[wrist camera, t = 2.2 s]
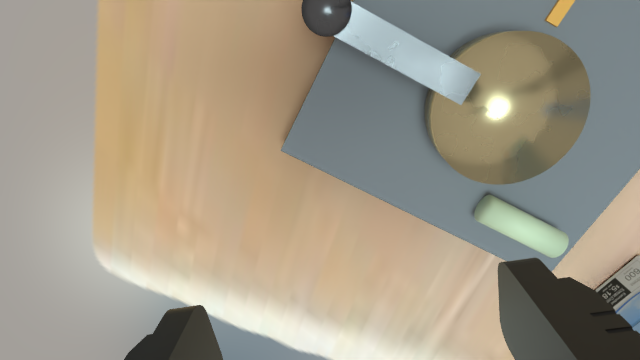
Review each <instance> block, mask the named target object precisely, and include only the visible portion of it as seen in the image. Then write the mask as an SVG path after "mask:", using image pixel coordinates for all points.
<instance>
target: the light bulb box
mask: <svg viewBox="0 0 640 360" xmlns="http://www.w3.org/2000/svg"><path fill="white" fill-rule="evenodd" d="M595 291H596V292H597V293H598V294H599V295H600V296H601V297H602V298H604V299H605V300H606V301H607V302H608V303H609V304H610V305H611V306H612V307H613V308H614V309H615V312H616V314H620V315H621V316H622V317H623V318H624V319H625V320H626V321H627V322H628V323H629V324H630V325H631V326H632V329H633V330H634V331H637V332H638V333H640V255H638V256H636V257H635V258H634V259H633V260H631V261H630V262H629V263H628V264H627V265H625V266H624V267H623V268H622V269H620V270H619V271H618V272H617V273H616V274H614V275H613V276H612V277H611V278H609V279H608V280H607V281H606V282H605V283H603V284H602V285H601V286H600V287H599V288H597V289H596V290H595Z"/></svg>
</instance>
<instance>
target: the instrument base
mask: <svg viewBox="0 0 640 360" xmlns="http://www.w3.org/2000/svg"><path fill="white" fill-rule="evenodd" d="M353 3H355V4H356V5H358V6H360V7H362V8H364V9H365V10H367V11H369V12H371V13H373V14H374V15H376V16H378V17H380V18H381V19H383V20H385V21H387V22H389V23H390V24H392V25H394V26H396V27H398V28H399V29H401V30H403V31H405V32H407V33H408V34H410V35H412V36H414V37H415V38H417V39H419V40H421V41H423V42H424V43H426V44H428V45H430V46H432V47H433V48H435V49H437V50H439V51H441V52H442V53H444V54H446V55H448V56H449V57H450V56H451V55H452V54H453V53H454V52H455V51H456V50H457V49H459V48H460V47H462V46H463V45H464V44H466V43H468V42H470V41H472V40H473V39H476V38H478V37H481V36H483V35H486V34H490V33H494V32H502V31H534V32H541V33H544V34H547V35H551V36H553V37H555V38H557V39H559V40H561V41H562V42H564V43H565V44H566V45H568V46H569V47H570V48H571V49H572V50H573V51H574V52H575V53H576V54H577V56H578V57H579V58H580V60H581V61H582V63H583V65H584V67H585V69H586V72H587V75H588V78H589V83H590V94H591V100H590V108H589V113H588V117H587V120H586V123H585V125H584V128H583V130H582V132H581V134H580V136H579V137H578V139H577V141H576V142H575V144H574V145H573V146H572V148H571V149H570V150H569V151H568V152H567V154H566V155H565V156H564V157H563V158H562V159H560V160H559V161H558V162H557V163H556V164H555V165H553V166H552V167H551V168H549V169H548V170H546V171H544V172H543V173H541V174H539V175H537V176H535V177H533V178H530V179H527V180H524V181H521V182H517V183H512V184H504V185H492V184H485V183H481V182H477V181H474V180H471V179H469V178H467V177H465V176H463V175H461V174H460V173H458V172H457V171H456V170H454V169H453V168H452V167H451V166H450V165H449V164H448V163H447V162H446V160H445V159H444V158H443V157H442V156H441V155H440V154H439V153H438V152H437V150H436V149H435V147H434V146H433V144H432V142H431V140H430V138H429V135H428V132H427V129H426V124H425V102H426V98H427V93H428V90H429V88H428V87H427V86H425V85H423V84H421V83H419V82H417V81H416V80H414V79H412V78H410V77H408V76H406V75H404V74H403V73H401V72H399V71H397V70H395V69H393V68H392V67H390V66H388V65H386V64H384V63H382V62H380V61H379V60H377V59H375V58H373V57H371V56H369V55H368V54H366V53H364V52H362V51H360V50H358V49H356V48H355V47H353V46H351V45H349V44H347V43H345V42H344V41H342V40H340V39H338V38H335V40H334V42H333V44H332V46H331V48H330V50H329V52H328V54H327V56H326V58H325V60H324V62H323V64H322V66H321V68H320V70H319V72H318V75H317V77H316V79H315V81H314V83H313V85H312V87H311V89H310V91H309V93H308V95H307V97H306V99H305V101H304V103H303V105H302V107H301V109H300V111H299V113H298V116H297V118H296V120H295V122H294V124H293V126H292V128H291V130H290V132H289V134H288V136H287V138H286V140H285V142H284V144H283V147H282V149H281V151H283V152H285V153H287V154H289V155H291V156H293V157H295V158H297V159H299V160H301V161H303V162H305V163H307V164H309V165H311V166H313V167H315V168H317V169H319V170H322V171H324V172H326V173H328V174H330V175H332V176H334V177H336V178H338V179H340V180H342V181H344V182H346V183H348V184H350V185H352V186H354V187H356V188H358V189H360V190H362V191H365V192H367V193H369V194H371V195H373V196H375V197H377V198H379V199H381V200H383V201H385V202H387V203H389V204H391V205H393V206H395V207H397V208H399V209H401V210H403V211H405V212H408V213H410V214H412V215H414V216H416V217H418V218H420V219H422V220H424V221H426V222H428V223H430V224H432V225H434V226H436V227H438V228H440V229H442V230H444V231H446V232H448V233H451V234H453V235H455V236H457V237H459V238H461V239H463V240H465V241H467V242H469V243H471V244H473V245H475V246H477V247H479V248H481V249H483V250H485V251H487V252H489V253H491V254H493V255H496V256H498V257H500V258H502V259H504V260H506V261H514V260H521V259H528V258H535V257H536V258H538V259H540V260H541V261H542V262H543V263H544V264H545V266H546V267H547V268H548V269H549V270H550V271H551V272H552V270H553V269H554V268H555V267H556V266H557V265H558V263H559V262H560V261H561V260H562V259H563V258H564V256H565V255H566V254H567V253H568V252H569V251H570V249H571V248H572V247H573V246H574V245H575V244H576V242H577V241H578V240H579V239H580V238H581V237H582V235H583V234H584V233H585V232H586V231H587V230H588V228H589V227H590V226H591V225H592V224H593V223H594V221H595V220H596V219H597V218H598V217H599V216H600V214H601V213H602V212H603V211H604V210H605V209H606V207H607V206H608V205H609V204H610V203H611V202H612V201H613V199H614V198H615V197H616V196H617V195H618V194H619V192H620V191H621V190H622V189H623V188H624V187H625V185H626V184H627V183H628V182H629V181H630V180H631V178H632V177H633V176H634V175H635V174H636V173H637V171H638V170H639V169H640V0H354V1H353Z"/></svg>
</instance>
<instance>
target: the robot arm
mask: <svg viewBox="0 0 640 360" xmlns="http://www.w3.org/2000/svg"><path fill="white" fill-rule="evenodd" d="M498 287H499V311H500V323H501V328H502V332H503V335H504V338H505V341H506V343H507V346H508V348H509V350H510V351H511V353H512V355H513V357H514V359H515V360H640V333H638V332H637V331H634V330H633V329H632V326H631V325H630V324H629V323H628V322H627V321H626V320H625V319H624V318H623V317H622V316H621V315H620V314H616V312H615V309H614V308H613V307H612V306H611V305H610V304H609V303H608V302H607V301H606V300H605V299H604V298H602V297H601V296H600V295H599V294H598V293H597V292H596V291H595V290H593V289H591V288H589V287H587V286H585V285H583V284H582V283H580V282H578V281H576V280H574V279H572V278H570V277H567V278H560V279H557V277H556V276H555V275H554V274H553V273H552V272H551V271H550V270H549V269H548V268H547V267H546V266H545V264H544V263H543V262H542V261H541V260H540V259H538V258H536V257H535V258H528V259H521V260H514V261H507V262H501V263H499V266H498ZM124 360H223V358H222V354H221V351H220V348H219V345H218V342H217V340H216V337H215V334H214V331H213V329H212V326H211V323H210V320H209V318H208V315H207V312H206V310H205V308H204V307H203V306H201V305H197V306H190V307H184V308H177V309H170V310H168V311H167V312H166V313H165V315H164V316H163V318H162V319H161V321H160V323H159V324H158V326H157V328H156V330H155V331H154V333H153V334H150V335H147V336H146V337H145V338H144V339H143V340H142V341H141V342H140V343H138V344H137V345H136V346H135V347H134V348H133V349H132V350H131V351H130V352H129V353H128V355H127V356H126V357H125V359H124Z"/></svg>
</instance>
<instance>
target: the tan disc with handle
mask: <svg viewBox="0 0 640 360" xmlns="http://www.w3.org/2000/svg"><path fill="white" fill-rule="evenodd" d="M302 16H303V19H304V22H305V24H306V25H307V27H308V28H309V29H310V30H311V31H312V32H314V33H315V34H317V35H320V36H334V37H336V38H338V39H340V40H342V41H344V42H345V43H347V44H349V45H351V46H353V47H355V48H356V49H358V50H360V51H362V52H364V53H366V54H368V55H369V56H371V57H373V58H375V59H377V60H379V61H380V62H382V63H384V64H386V65H388V66H390V67H392V68H393V69H395V70H397V71H399V72H401V73H403V74H404V75H406V76H408V77H410V78H412V79H414V80H416V81H417V82H419V83H421V84H423V85H425V86H427V87H428V88H429V90H428V93H427V98H426V102H425V124H426V129H427V132H428V135H429V138H430V140H431V142H432V144H433V146H434V147H435V149H436V150H437V152H438V153H439V154H440V155H441V156H442V157H443V158H444V159H445V160H446V162H447V163H448V164H449V165H450V166H451V167H452V168H453V169H454V170H456V171H457V172H458V173H460V174H461V175H463V176H465V177H467V178H469V179H471V180H474V181H477V182H481V183H485V184H492V185H504V184H512V183H517V182H521V181H524V180H527V179H530V178H533V177H535V176H537V175H539V174H541V173H543V172H544V171H546V170H548V169H549V168H551V167H552V166H553V165H555V164H556V163H557V162H558V161H559V160H560V159H562V158H563V157H564V156H565V155H566V154H567V152H568V151H569V150H570V149H571V148H572V146H573V145H574V144H575V142H576V141H577V139H578V137H579V136H580V134H581V132H582V130H583V128H584V125H585V123H586V120H587V117H588V113H589V108H590V100H591V94H590V83H589V78H588V75H587V72H586V69H585V67H584V65H583V63H582V61H581V60H580V58H579V57H578V56H577V54H576V53H575V52H574V51H573V50H572V49H571V48H570V47H569V46H568V45H566V44H565V43H564V42H562V41H561V40H559V39H557V38H555V37H553V36H551V35H547V34H544V33H541V32H534V31H502V32H494V33H490V34H486V35H483V36H481V37H478V38H476V39H473V40H472V41H470V42H468V43H466V44H464V45H463V46H462V47H460V48H459V49H457V50H456V51H455V52H454V53H453V54H452V55H451V56H450V57H449V56H448V55H446V54H444V53H442V52H441V51H439V50H437V49H435V48H433V47H432V46H430V45H428V44H426V43H424V42H423V41H421V40H419V39H417V38H415V37H414V36H412V35H410V34H408V33H407V32H405V31H403V30H401V29H399V28H398V27H396V26H394V25H392V24H390V23H389V22H387V21H385V20H383V19H381V18H380V17H378V16H376V15H374V14H373V13H371V12H369V11H367V10H365V9H364V8H362V7H360V6H358V5H356V4H355V3H353V2H351V0H303V3H302Z"/></svg>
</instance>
